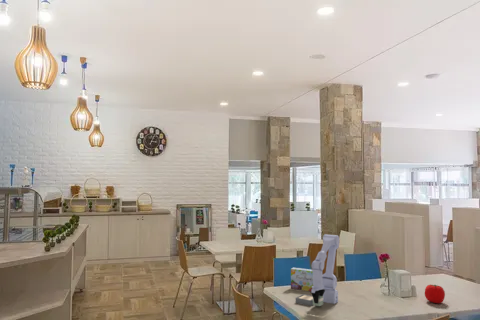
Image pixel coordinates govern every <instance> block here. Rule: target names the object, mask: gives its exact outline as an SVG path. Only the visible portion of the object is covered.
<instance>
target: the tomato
mask: <svg viewBox="0 0 480 320" xmlns="http://www.w3.org/2000/svg"><path fill="white" fill-rule="evenodd" d="M445 296H446V292H445V289H444V288H443V287H442V286H441V285H438V284H437V285H436V284H428V285H427V286H425V288H424V298H425V299H426V300H427V301H428V302H430V303H434V304H441V303H443V302H444V300H445Z"/></svg>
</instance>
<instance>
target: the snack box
mask: <svg viewBox="0 0 480 320" xmlns="http://www.w3.org/2000/svg"><path fill="white" fill-rule="evenodd" d="M312 286H313V272H312V268H309V269H308V268H303V267H292V268H290V289H291V290H299V291H304V292H305V291H307V292H311V289H312Z"/></svg>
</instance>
